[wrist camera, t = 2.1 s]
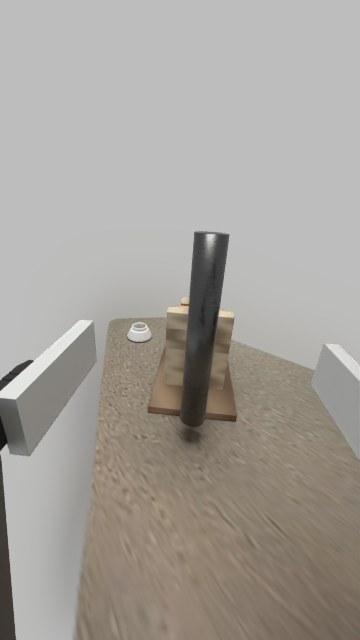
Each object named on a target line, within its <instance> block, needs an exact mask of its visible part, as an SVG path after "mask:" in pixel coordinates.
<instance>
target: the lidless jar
mask: <svg viewBox="0 0 360 640" xmlns="http://www.w3.org/2000/svg"><path fill="white" fill-rule="evenodd" d="M150 338H151V332H150V330H149V329H148V327H147V325H146V324H145V323H135V324H133V325H132V328H131V329H130V331H129V333H128V339H130V340H131V341H135V342H143V341H147V340H149V339H150Z"/></svg>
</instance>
